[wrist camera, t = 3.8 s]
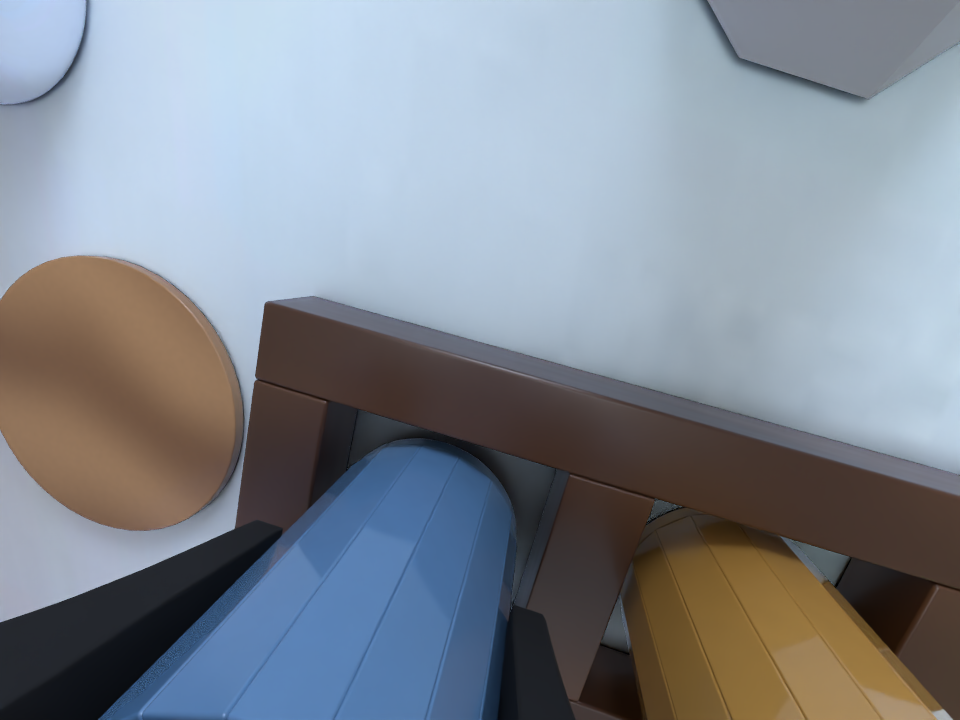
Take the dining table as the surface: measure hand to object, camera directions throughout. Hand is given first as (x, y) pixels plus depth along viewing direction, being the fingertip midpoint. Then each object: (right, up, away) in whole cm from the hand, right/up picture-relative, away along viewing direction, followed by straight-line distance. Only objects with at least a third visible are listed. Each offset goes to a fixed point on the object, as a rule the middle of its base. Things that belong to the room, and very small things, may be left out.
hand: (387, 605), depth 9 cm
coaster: (-10, +4, +5) cm, 12 cm away
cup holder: (+5, 0, +4) cm, 6 cm away
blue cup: (0, +1, +3) cm, 3 cm away
